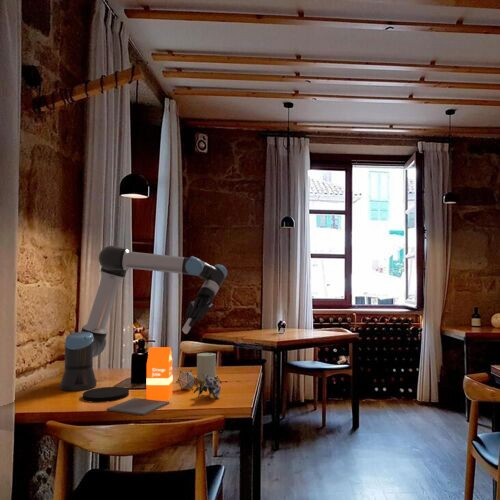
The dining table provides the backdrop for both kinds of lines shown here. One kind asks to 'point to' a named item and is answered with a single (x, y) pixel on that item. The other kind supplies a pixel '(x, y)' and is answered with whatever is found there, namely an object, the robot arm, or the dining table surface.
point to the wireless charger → (105, 394)
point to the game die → (186, 380)
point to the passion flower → (209, 386)
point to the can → (206, 365)
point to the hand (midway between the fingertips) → (184, 331)
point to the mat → (138, 406)
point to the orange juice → (159, 374)
